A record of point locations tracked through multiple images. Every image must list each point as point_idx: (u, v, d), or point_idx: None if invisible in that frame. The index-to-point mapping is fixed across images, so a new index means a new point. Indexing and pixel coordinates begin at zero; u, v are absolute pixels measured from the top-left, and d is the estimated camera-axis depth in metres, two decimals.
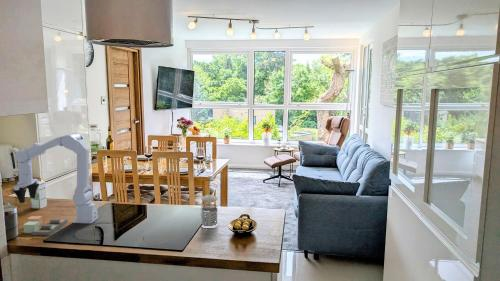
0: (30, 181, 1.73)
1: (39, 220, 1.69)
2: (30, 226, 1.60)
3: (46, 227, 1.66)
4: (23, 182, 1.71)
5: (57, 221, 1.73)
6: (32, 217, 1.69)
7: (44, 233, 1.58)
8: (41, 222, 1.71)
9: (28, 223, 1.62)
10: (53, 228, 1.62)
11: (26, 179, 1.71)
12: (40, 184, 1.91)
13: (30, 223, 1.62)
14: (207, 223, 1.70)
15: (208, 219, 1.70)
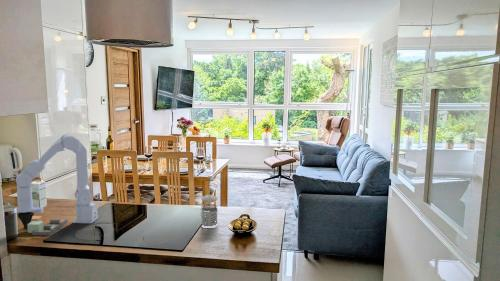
0: (20, 209, 1.58)
1: (39, 220, 1.69)
2: (34, 226, 1.60)
3: (46, 227, 1.66)
4: None
5: (57, 221, 1.73)
6: (32, 217, 1.69)
7: (44, 233, 1.58)
8: None
9: (32, 223, 1.62)
10: (53, 228, 1.62)
11: (18, 205, 1.59)
12: (40, 184, 1.91)
13: (34, 223, 1.62)
14: (207, 223, 1.70)
15: (208, 219, 1.70)
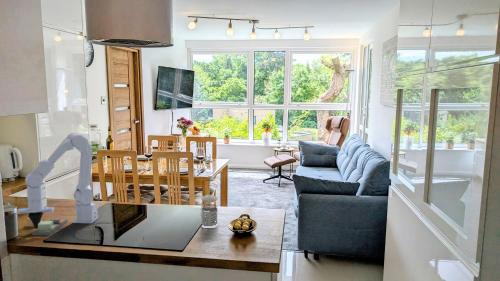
0: (31, 209, 1.58)
1: None
2: (45, 225, 1.61)
3: None
4: (28, 208, 1.60)
5: (57, 221, 1.73)
6: None
7: (44, 233, 1.58)
8: None
9: (42, 223, 1.62)
10: (53, 228, 1.62)
11: (28, 205, 1.59)
12: None
13: (44, 223, 1.62)
14: (207, 223, 1.70)
15: (208, 219, 1.70)
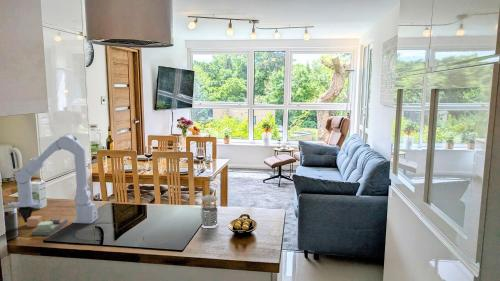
0: (20, 203, 1.66)
1: (39, 220, 1.69)
2: (45, 226, 1.61)
3: None
4: None
5: (57, 221, 1.73)
6: (32, 217, 1.69)
7: (44, 233, 1.58)
8: None
9: (42, 223, 1.62)
10: (53, 228, 1.62)
11: (18, 200, 1.66)
12: (40, 184, 1.91)
13: (44, 223, 1.62)
14: (207, 223, 1.70)
15: (208, 219, 1.70)
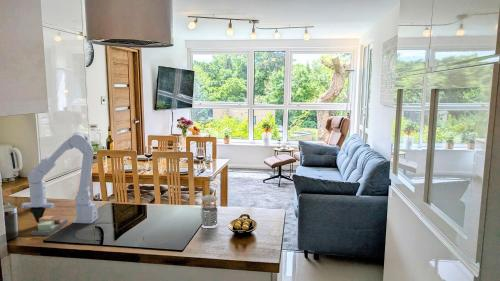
0: (32, 204, 1.66)
1: (51, 220, 1.69)
2: (45, 226, 1.61)
3: None
4: None
5: (57, 221, 1.73)
6: (44, 217, 1.69)
7: (44, 233, 1.58)
8: (53, 222, 1.71)
9: (42, 223, 1.62)
10: (53, 228, 1.62)
11: None
12: None
13: (44, 223, 1.62)
14: (207, 223, 1.70)
15: (208, 219, 1.70)
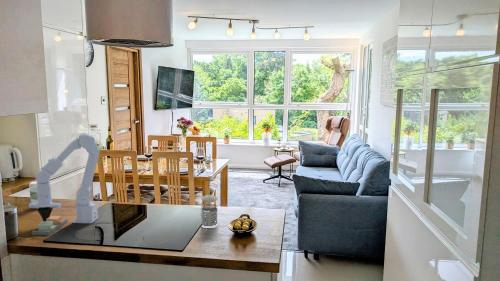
0: (40, 204, 1.65)
1: (58, 220, 1.69)
2: (45, 226, 1.61)
3: None
4: None
5: None
6: (51, 217, 1.69)
7: (44, 233, 1.58)
8: None
9: (42, 223, 1.62)
10: (53, 228, 1.62)
11: (38, 200, 1.66)
12: None
13: (44, 223, 1.62)
14: (207, 223, 1.70)
15: (208, 219, 1.70)
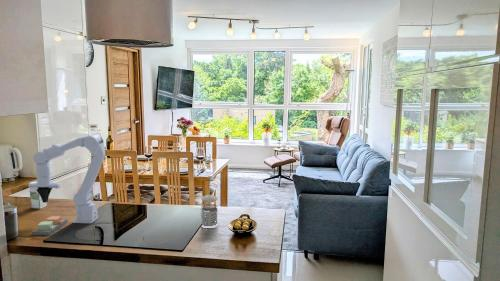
0: (39, 184, 1.69)
1: (58, 220, 1.69)
2: (45, 226, 1.61)
3: None
4: None
5: None
6: (51, 217, 1.69)
7: (44, 233, 1.58)
8: None
9: (42, 223, 1.62)
10: (53, 228, 1.62)
11: (37, 180, 1.70)
12: None
13: (44, 223, 1.62)
14: (207, 223, 1.70)
15: (208, 219, 1.70)
